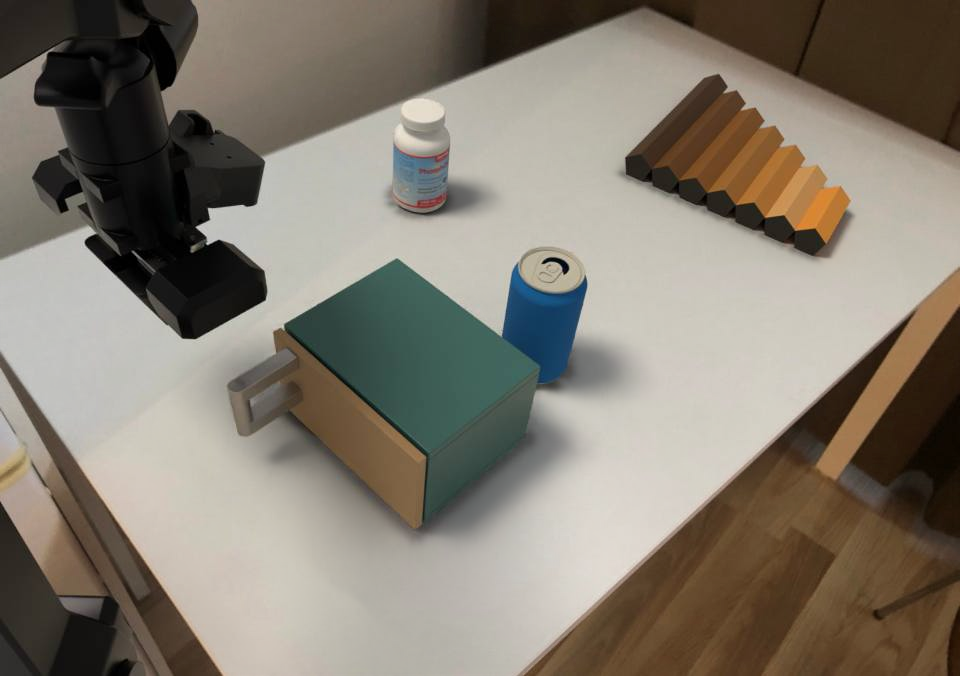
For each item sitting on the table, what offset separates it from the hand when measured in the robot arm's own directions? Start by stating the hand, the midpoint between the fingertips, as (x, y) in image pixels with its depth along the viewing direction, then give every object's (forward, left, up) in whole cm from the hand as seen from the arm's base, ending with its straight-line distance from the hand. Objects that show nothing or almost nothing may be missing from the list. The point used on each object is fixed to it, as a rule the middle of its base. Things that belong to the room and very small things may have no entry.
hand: (171, 320), depth 59 cm
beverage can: (+26, -15, -12) cm, 32 cm away
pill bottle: (+35, +10, -12) cm, 38 cm away
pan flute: (+72, -12, -12) cm, 74 cm away
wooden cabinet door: (+4, -12, -12) cm, 17 cm away
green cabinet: (+13, -12, -12) cm, 21 cm away
